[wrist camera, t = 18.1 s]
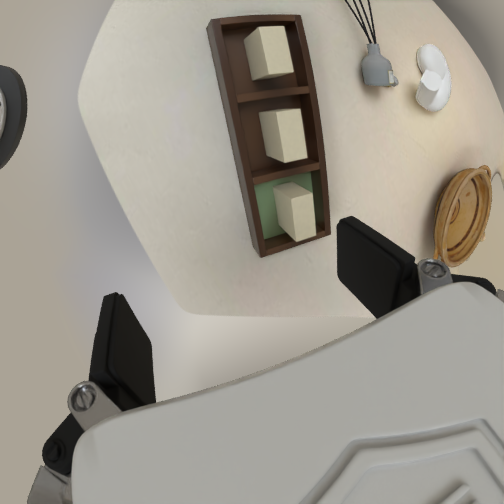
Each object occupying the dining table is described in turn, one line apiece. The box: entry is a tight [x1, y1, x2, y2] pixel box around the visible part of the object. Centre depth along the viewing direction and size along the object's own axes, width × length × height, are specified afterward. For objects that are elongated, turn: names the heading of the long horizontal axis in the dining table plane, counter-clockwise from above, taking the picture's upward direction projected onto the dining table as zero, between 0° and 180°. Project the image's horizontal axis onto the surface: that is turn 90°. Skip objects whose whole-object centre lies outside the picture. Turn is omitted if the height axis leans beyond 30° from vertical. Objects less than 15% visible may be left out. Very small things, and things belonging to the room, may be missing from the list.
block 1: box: [244, 26, 294, 81], centre depth 26 cm, size 3×6×6 cm, turn 11°
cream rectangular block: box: [273, 182, 316, 242], centre depth 36 cm, size 3×6×6 cm, turn 11°
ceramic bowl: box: [433, 165, 492, 267], centre depth 49 cm, size 30×24×8 cm
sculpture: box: [415, 44, 451, 112], centre depth 32 cm, size 12×15×8 cm
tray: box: [206, 15, 331, 258], centre depth 32 cm, size 11×32×4 cm, turn 11°
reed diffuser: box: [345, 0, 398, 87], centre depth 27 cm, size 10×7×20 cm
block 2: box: [259, 109, 307, 163], centre depth 31 cm, size 3×6×6 cm, turn 12°
